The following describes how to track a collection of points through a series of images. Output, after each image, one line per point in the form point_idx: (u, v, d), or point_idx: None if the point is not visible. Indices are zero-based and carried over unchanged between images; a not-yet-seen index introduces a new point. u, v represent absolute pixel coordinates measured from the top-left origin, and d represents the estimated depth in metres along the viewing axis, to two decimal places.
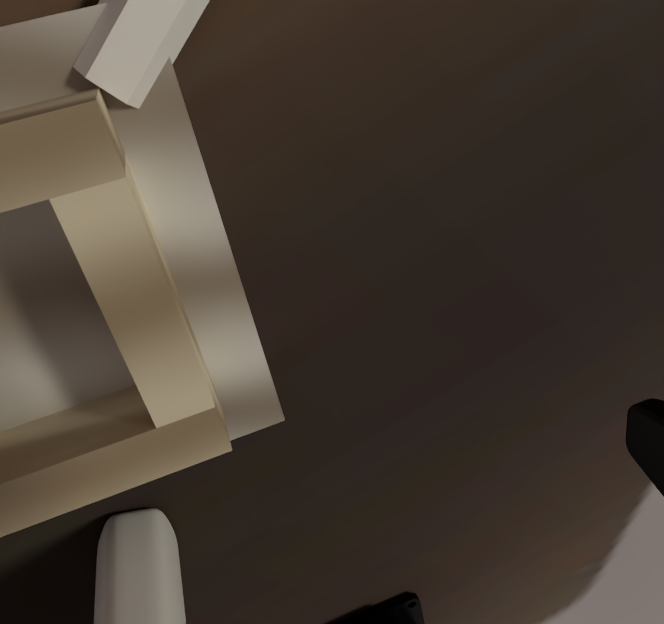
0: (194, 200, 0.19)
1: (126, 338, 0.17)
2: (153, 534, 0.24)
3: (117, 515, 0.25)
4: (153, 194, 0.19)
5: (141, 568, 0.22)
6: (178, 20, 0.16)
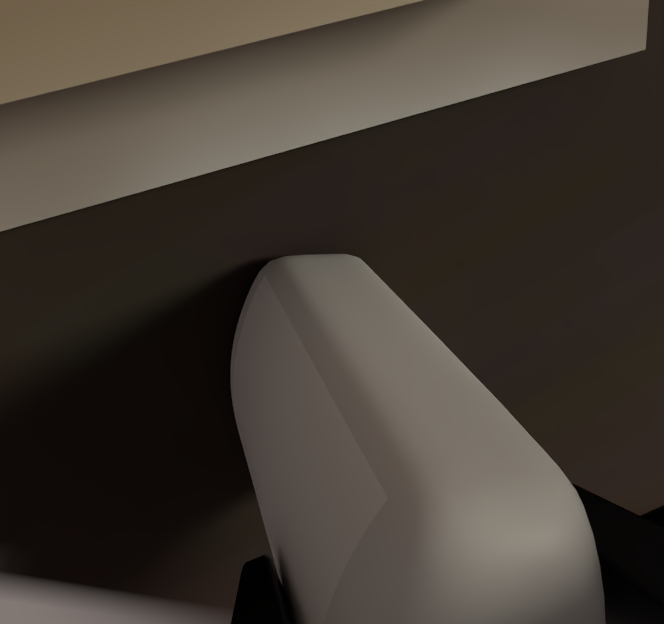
0: None
1: None
2: (374, 280, 0.11)
3: (283, 257, 0.12)
4: None
5: (384, 318, 0.09)
6: None
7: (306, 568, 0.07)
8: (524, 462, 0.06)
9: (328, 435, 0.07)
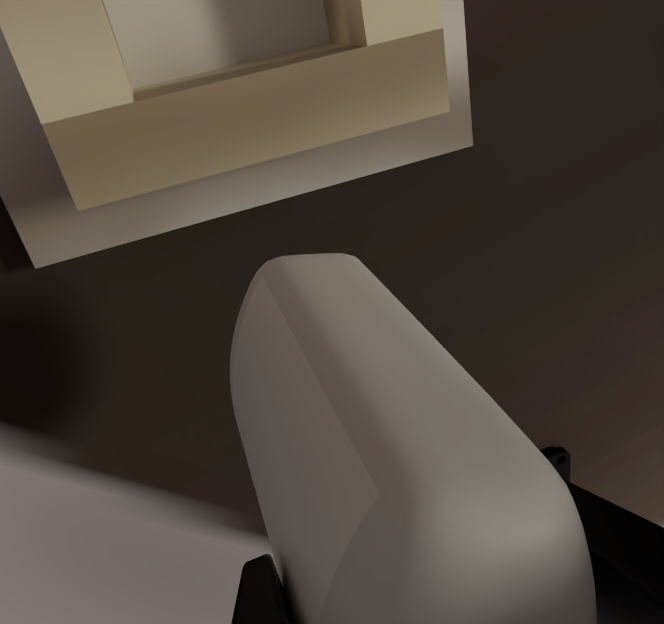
0: None
1: None
2: (370, 278, 0.11)
3: (280, 257, 0.12)
4: None
5: (378, 316, 0.09)
6: None
7: (303, 563, 0.07)
8: (514, 457, 0.07)
9: (323, 433, 0.08)
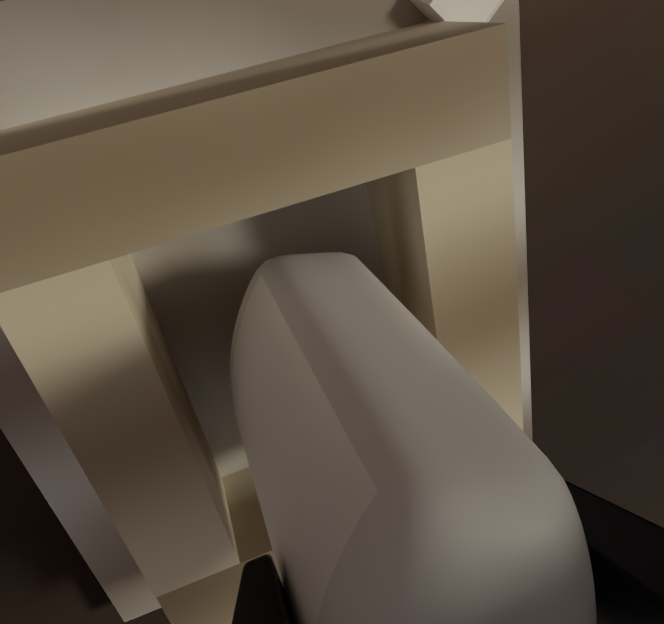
0: None
1: None
2: (369, 277, 0.11)
3: (279, 256, 0.12)
4: None
5: (376, 315, 0.09)
6: None
7: (302, 562, 0.07)
8: (512, 455, 0.07)
9: (321, 430, 0.08)
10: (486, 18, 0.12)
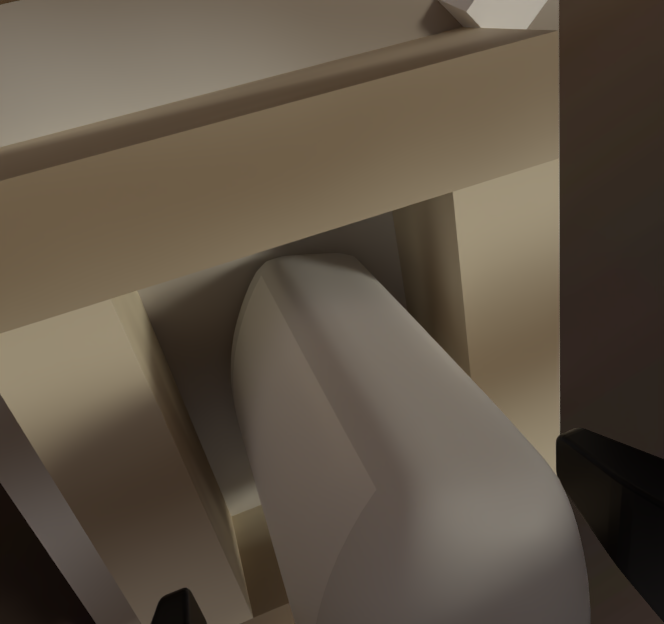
0: None
1: None
2: (368, 278, 0.11)
3: (279, 257, 0.12)
4: None
5: (375, 316, 0.10)
6: None
7: (302, 558, 0.08)
8: (509, 453, 0.07)
9: (321, 430, 0.08)
10: (527, 26, 0.11)
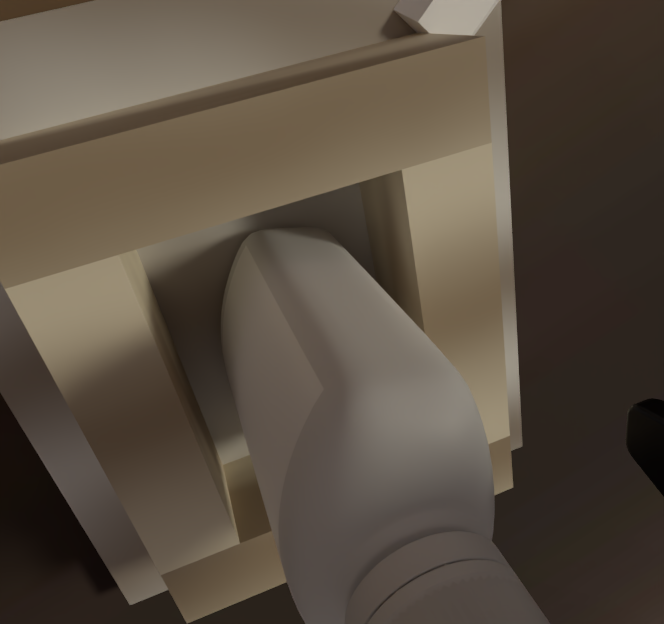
0: None
1: None
2: (336, 246, 0.13)
3: (262, 230, 0.14)
4: None
5: (338, 272, 0.12)
6: None
7: (272, 457, 0.10)
8: (427, 363, 0.09)
9: (287, 355, 0.10)
10: (471, 33, 0.13)
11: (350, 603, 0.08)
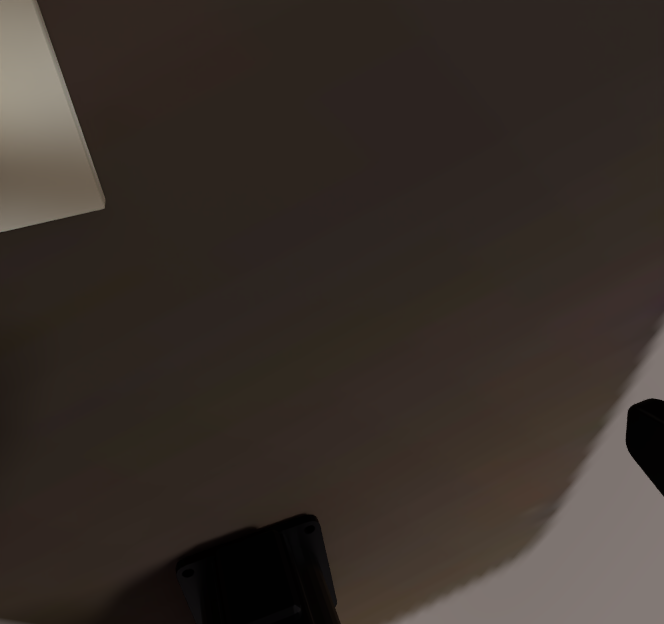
0: None
1: None
2: None
3: None
4: None
5: None
6: None
7: None
8: None
9: None
10: None
11: None
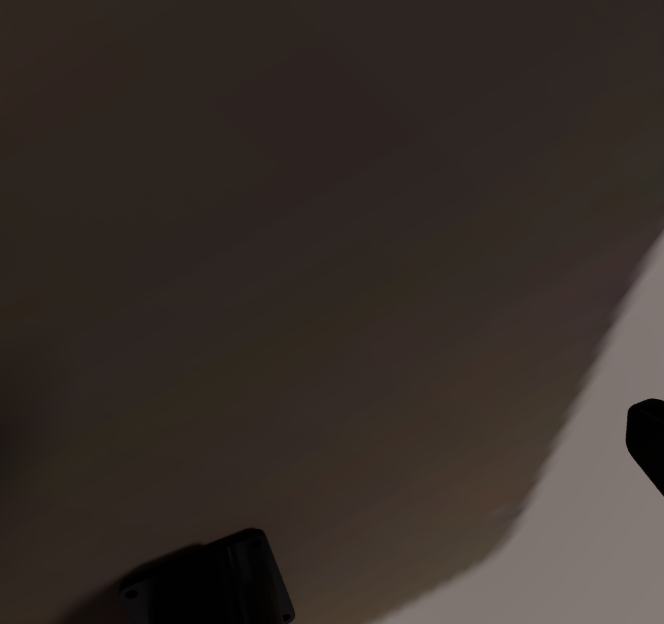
0: None
1: None
2: None
3: None
4: None
5: None
6: None
7: None
8: None
9: None
10: None
11: None
